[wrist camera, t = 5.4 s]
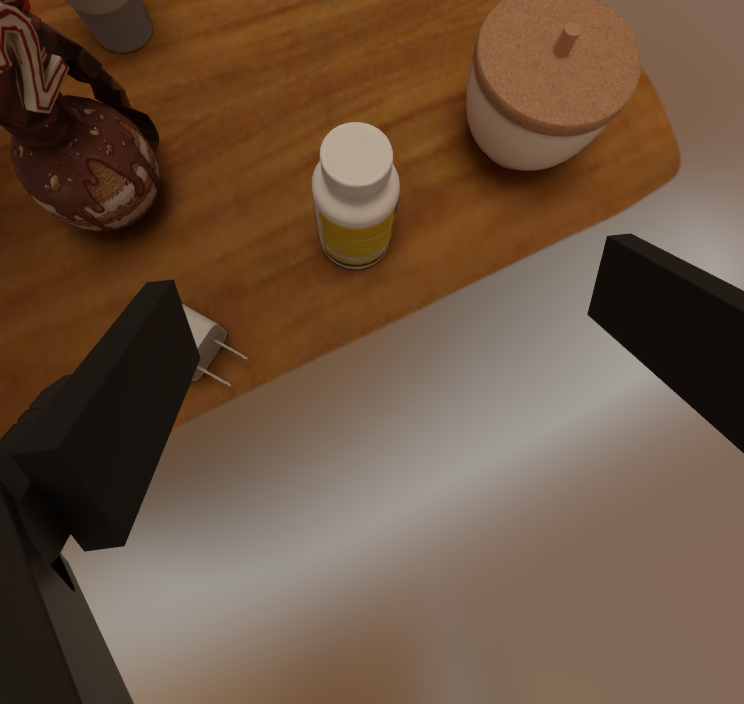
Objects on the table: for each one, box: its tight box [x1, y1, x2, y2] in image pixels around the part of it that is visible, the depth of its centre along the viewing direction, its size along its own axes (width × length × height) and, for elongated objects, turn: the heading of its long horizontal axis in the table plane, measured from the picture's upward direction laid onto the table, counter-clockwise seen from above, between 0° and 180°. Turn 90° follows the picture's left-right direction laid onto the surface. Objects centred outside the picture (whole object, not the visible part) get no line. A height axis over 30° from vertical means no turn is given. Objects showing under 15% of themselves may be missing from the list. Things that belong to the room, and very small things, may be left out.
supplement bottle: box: [312, 122, 400, 269], centre depth 28 cm, size 5×5×10 cm
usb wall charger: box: [182, 304, 249, 387], centre depth 28 cm, size 4×7×4 cm, turn 61°
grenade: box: [0, 0, 160, 231], centre depth 25 cm, size 9×8×15 cm
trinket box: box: [466, 0, 641, 171], centre depth 30 cm, size 11×11×9 cm
